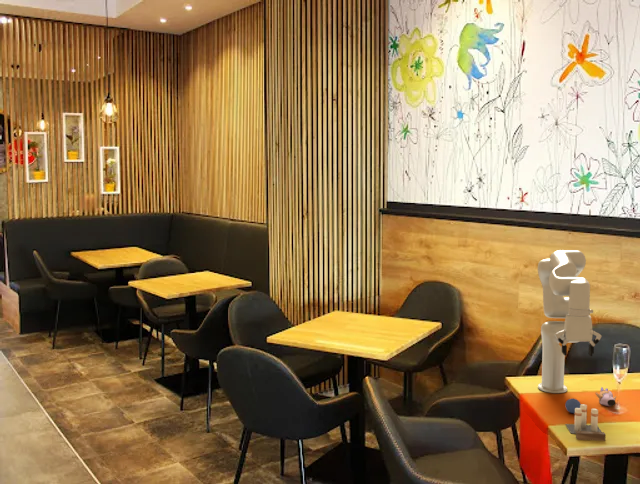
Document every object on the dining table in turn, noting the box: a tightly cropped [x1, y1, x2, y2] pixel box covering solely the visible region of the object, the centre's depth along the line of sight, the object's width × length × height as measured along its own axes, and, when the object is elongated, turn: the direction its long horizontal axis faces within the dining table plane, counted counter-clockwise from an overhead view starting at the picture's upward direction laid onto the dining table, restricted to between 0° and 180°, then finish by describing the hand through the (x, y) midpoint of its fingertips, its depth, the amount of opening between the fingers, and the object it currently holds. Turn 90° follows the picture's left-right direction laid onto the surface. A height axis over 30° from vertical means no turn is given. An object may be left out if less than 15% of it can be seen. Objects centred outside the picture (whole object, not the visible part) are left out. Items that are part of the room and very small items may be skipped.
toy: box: [595, 386, 617, 407], centre depth 278 cm, size 9×6×15 cm
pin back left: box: [590, 408, 599, 432], centre depth 248 cm, size 2×2×9 cm
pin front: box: [580, 403, 588, 428], centre depth 253 cm, size 2×2×9 cm
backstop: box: [575, 431, 607, 442], centre depth 243 cm, size 2×10×2 cm, turn 82°
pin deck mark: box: [564, 423, 603, 435], centre depth 252 cm, size 9×12×1 cm
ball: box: [564, 398, 581, 414], centre depth 268 cm, size 6×6×6 cm
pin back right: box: [573, 408, 582, 432], centre depth 249 cm, size 2×2×9 cm
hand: (577, 355), depth 256 cm, fingers open, 9 cm apart
